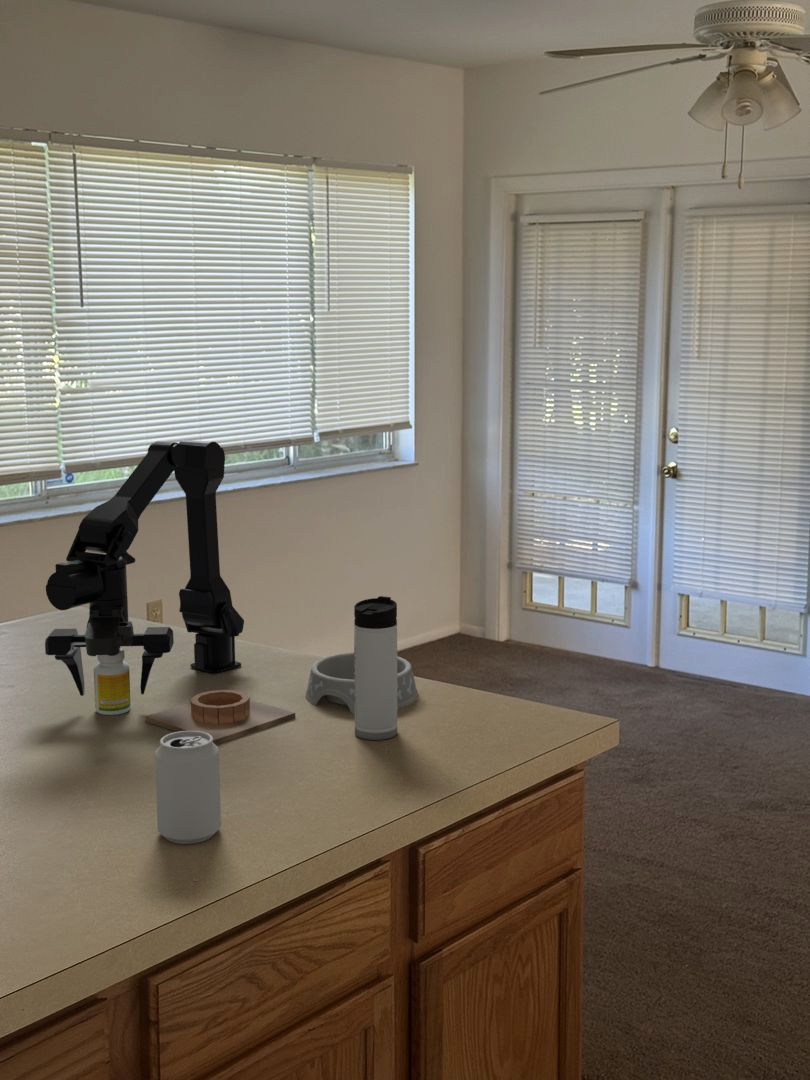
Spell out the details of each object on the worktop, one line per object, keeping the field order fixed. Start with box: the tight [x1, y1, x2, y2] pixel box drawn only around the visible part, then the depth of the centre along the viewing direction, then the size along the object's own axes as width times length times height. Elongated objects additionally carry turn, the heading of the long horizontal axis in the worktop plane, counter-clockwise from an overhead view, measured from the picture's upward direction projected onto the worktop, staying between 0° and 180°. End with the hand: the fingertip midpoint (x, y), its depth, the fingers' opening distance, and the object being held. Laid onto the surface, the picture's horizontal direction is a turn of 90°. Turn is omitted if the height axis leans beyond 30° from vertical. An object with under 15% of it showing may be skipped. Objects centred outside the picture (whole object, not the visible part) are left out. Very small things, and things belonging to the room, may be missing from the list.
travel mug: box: [353, 595, 398, 741], centre depth 183 cm, size 6×7×20 cm
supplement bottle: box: [93, 647, 132, 716], centre depth 194 cm, size 5×5×10 cm
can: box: [154, 731, 222, 845], centre depth 149 cm, size 8×8×12 cm
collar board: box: [144, 689, 296, 746], centre depth 190 cm, size 16×16×3 cm
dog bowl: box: [305, 651, 419, 714], centre depth 202 cm, size 17×18×5 cm
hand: (112, 694), depth 195 cm, fingers open, 9 cm apart
